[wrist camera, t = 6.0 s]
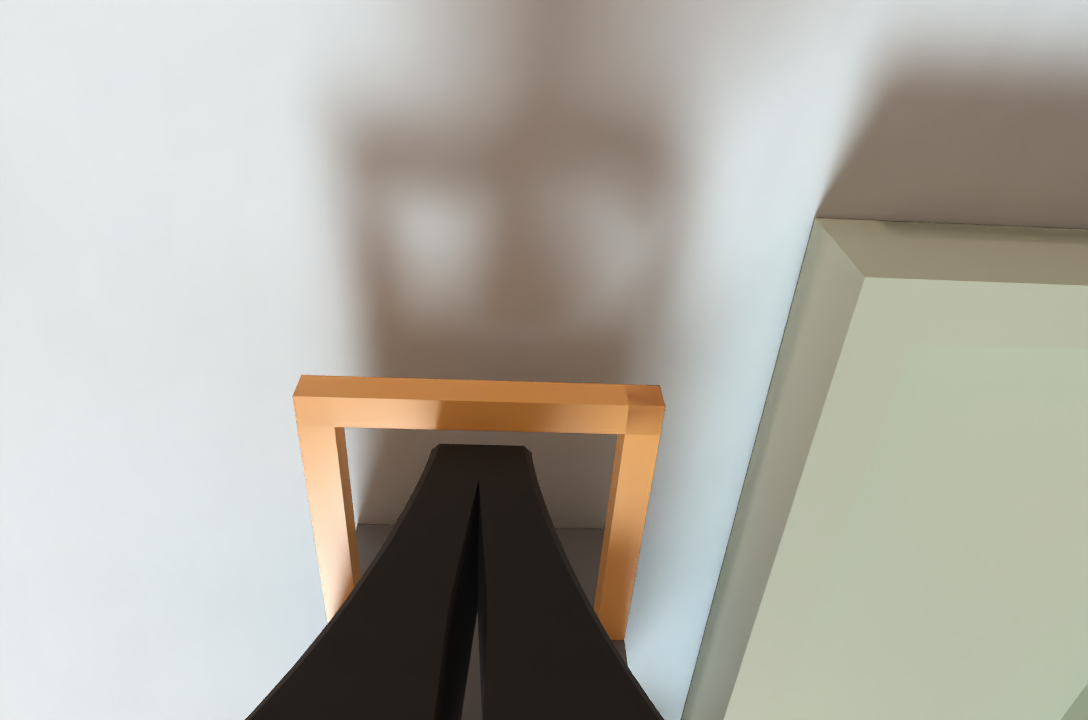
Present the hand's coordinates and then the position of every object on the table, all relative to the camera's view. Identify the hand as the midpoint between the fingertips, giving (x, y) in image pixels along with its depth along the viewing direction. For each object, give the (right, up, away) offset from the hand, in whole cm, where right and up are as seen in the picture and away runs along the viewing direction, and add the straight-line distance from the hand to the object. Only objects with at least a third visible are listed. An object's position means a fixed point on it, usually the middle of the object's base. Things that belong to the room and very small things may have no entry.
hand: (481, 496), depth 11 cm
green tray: (+10, -3, +5) cm, 11 cm away
